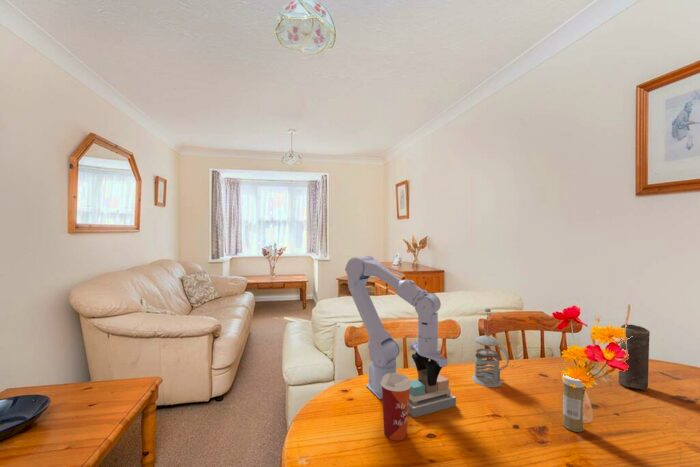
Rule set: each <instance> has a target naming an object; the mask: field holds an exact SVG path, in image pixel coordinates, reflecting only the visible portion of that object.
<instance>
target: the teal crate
mask: <svg viewBox="0 0 700 467" xmlns="http://www.w3.org/2000/svg"><path fill="white" fill-rule="evenodd" d="M410 383H411V387H410V393H409V394H410V395H412V396H413V397H415V396H419V395H423V394H425V385H424V384H423V383H421V382H420V381H418V378H417V379H412V380H410Z"/></svg>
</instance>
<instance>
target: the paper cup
mask: <svg viewBox="0 0 700 467" xmlns="http://www.w3.org/2000/svg"><path fill="white" fill-rule="evenodd" d="M410 381H411V380H410V378H409V377H408V376H407V375H405V374H403V373H398V372H396V373H389V374H386V375H384V376H383V378H382V380H381V386H382V398H383V399H382V415H383V418H382V419H383V432H384V435H385V437H386V438H387V439H389V440H391V441H396V442H398V441H403V440H405V439H406V438H407V434H408V420H409V413H408V409H409V393H410V387H411V383H410Z"/></svg>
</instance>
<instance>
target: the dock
mask: <svg viewBox="0 0 700 467" xmlns="http://www.w3.org/2000/svg"><path fill="white" fill-rule="evenodd" d="M456 406H457V397H456V396H455V395H453V394H452V393H450V396H446V395H440V396H436V397H432V398H428V399H424V400H420V401H418V404H416V405H414V404H413V403H411V402H410V401H409V409H408V415H410V416H411V417H412V418H417V417H420V416H424V415H428V414H432V413H435V412H440V411H443V410H447V409H451V408H454V407H456Z"/></svg>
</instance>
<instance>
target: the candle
mask: <svg viewBox="0 0 700 467" xmlns="http://www.w3.org/2000/svg"><path fill="white" fill-rule="evenodd" d="M626 325H627V327H626V337H627V338H630V337H631V336H633V337H631V338H630V339H628V340H627V349H628V354H629V359H628V360H626V361H625V362H626V363H627V364H628V365H629V368H628V370H626V371H625V372H623V371H619V370H618V383H619V384H621V385H622V386H623V387H627V388H630V387H631V389H634V388H635V389H634V390H638V389H640V390H639V391H642V390H643V391H644V390H647V389H648V386H649V358H650V330H648V329H647V328H645V327H643V326H641V325H635V324H627V323H626ZM621 328H625V324H622V325H621V326H620V329H621ZM621 340H622V339H621V338H620V341H621ZM620 347H621V348H622V349H624V350H626V344H625V342H623V343H621V344H620V345H619V348H620Z"/></svg>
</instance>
